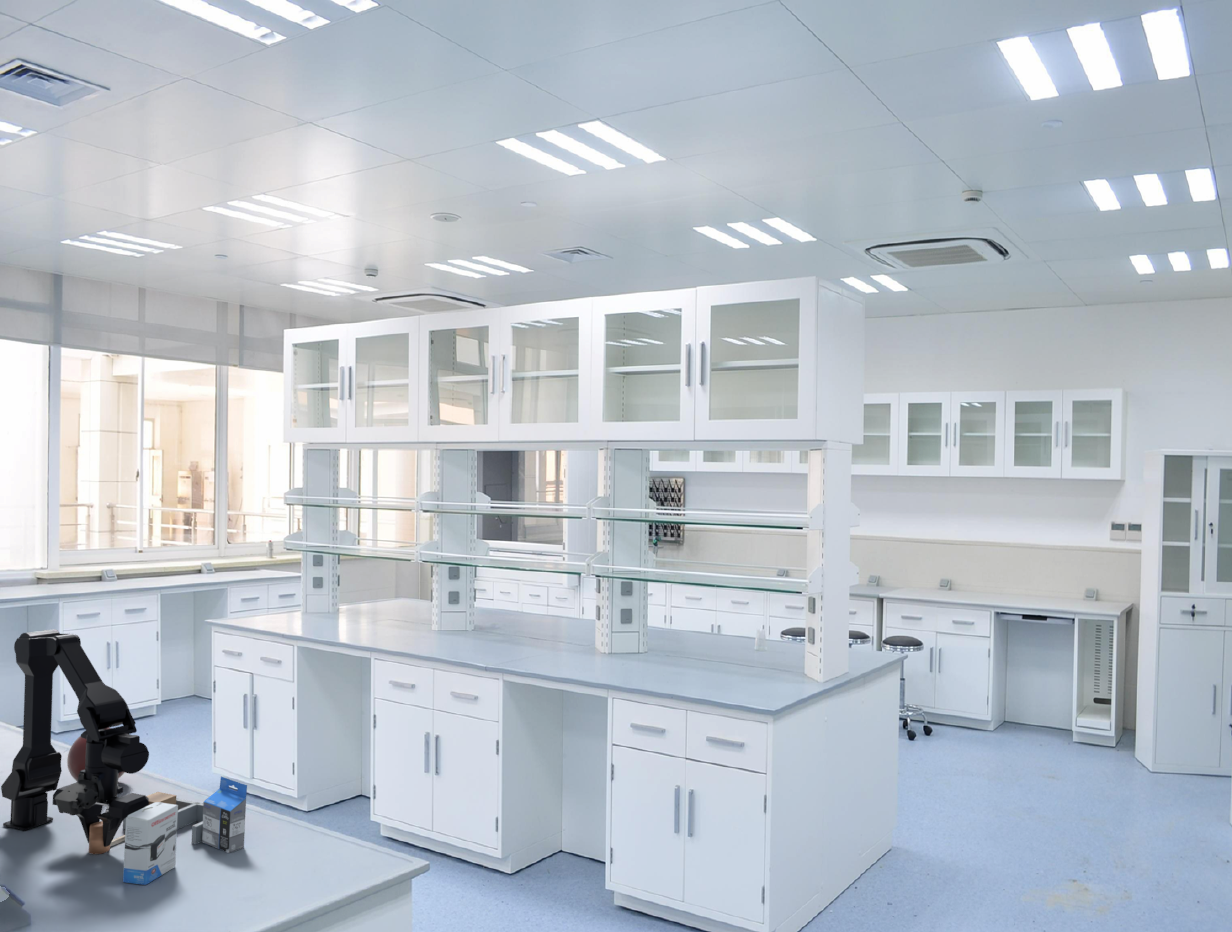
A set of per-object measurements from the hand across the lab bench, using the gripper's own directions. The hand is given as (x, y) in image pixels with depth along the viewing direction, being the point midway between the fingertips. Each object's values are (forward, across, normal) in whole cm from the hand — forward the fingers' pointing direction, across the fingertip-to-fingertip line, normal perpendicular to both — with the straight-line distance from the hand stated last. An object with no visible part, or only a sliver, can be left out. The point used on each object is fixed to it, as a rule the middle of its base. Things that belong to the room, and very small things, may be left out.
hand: (99, 844), depth 181 cm
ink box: (+1, +17, -4) cm, 18 cm away
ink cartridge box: (+2, +19, +12) cm, 23 cm away
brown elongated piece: (+1, 0, +7) cm, 7 cm away
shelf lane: (+1, +5, +15) cm, 16 cm away
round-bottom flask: (+2, -31, +27) cm, 41 cm away
